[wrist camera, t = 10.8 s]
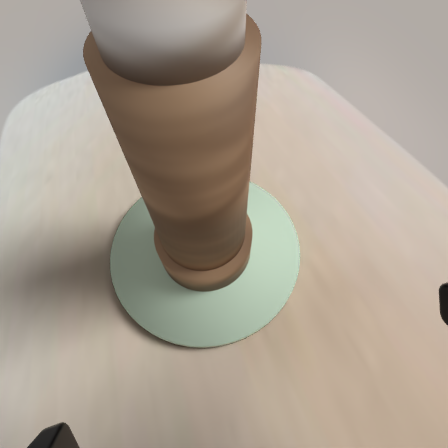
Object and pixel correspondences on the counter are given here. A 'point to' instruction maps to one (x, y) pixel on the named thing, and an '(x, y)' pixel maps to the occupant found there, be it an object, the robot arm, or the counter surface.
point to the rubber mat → (211, 300)
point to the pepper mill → (183, 123)
